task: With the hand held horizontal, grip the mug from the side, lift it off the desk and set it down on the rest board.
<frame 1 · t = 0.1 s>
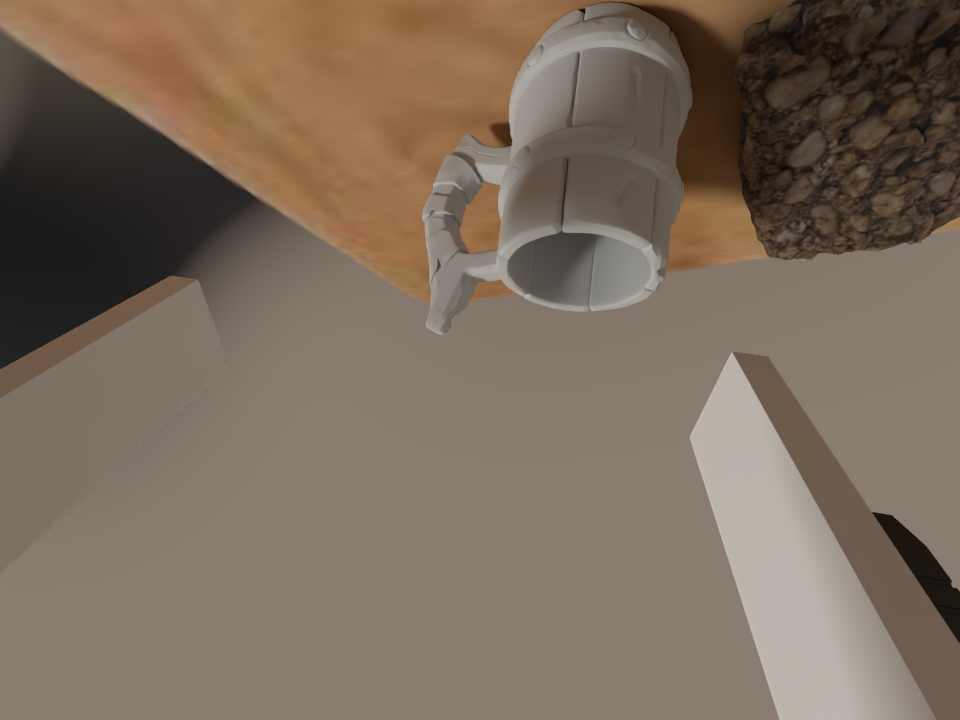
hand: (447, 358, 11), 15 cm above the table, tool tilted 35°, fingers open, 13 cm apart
concrete sample: (863, 86, 18), on the table
mug: (555, 96, 20), on the table
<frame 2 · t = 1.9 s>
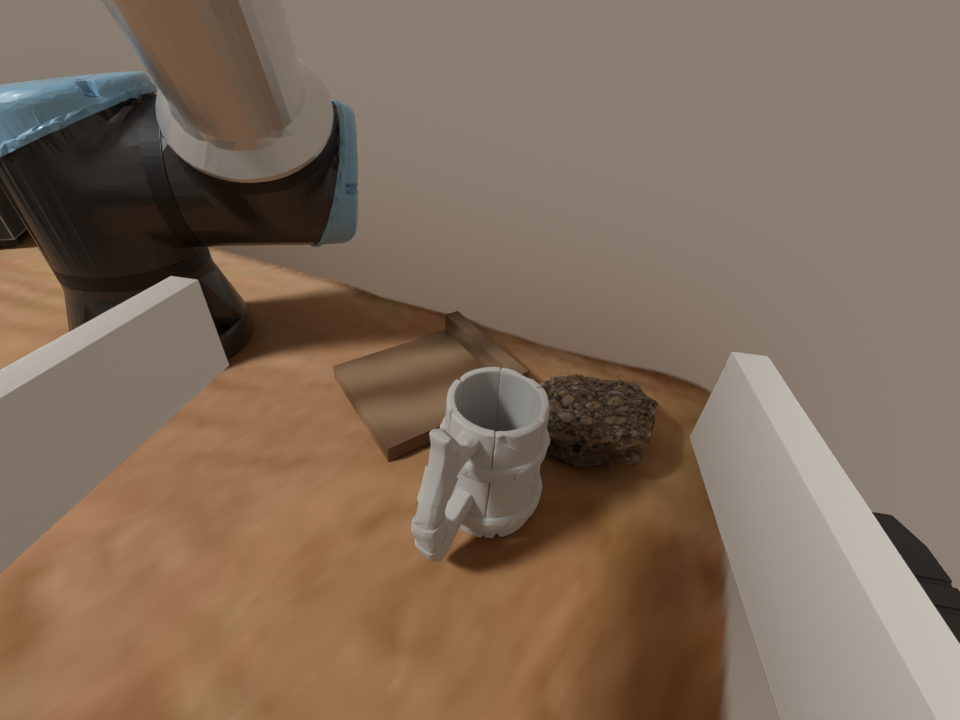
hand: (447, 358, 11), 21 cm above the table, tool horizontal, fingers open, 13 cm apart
concrete sample: (577, 435, 38), on the table
mug: (472, 516, 31), on the table
rest board: (428, 388, 41), on the table
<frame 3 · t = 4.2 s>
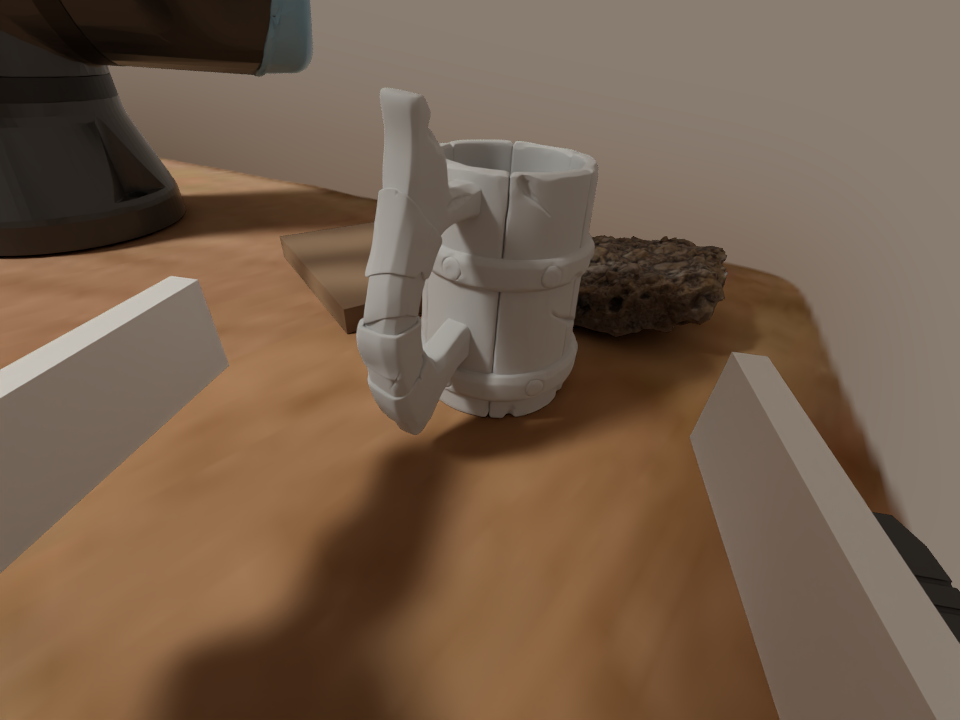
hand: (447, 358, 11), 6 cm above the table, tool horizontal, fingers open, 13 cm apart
concrete sample: (608, 314, 27), on the table
mug: (470, 394, 20), on the table
rest board: (410, 267, 30), on the table
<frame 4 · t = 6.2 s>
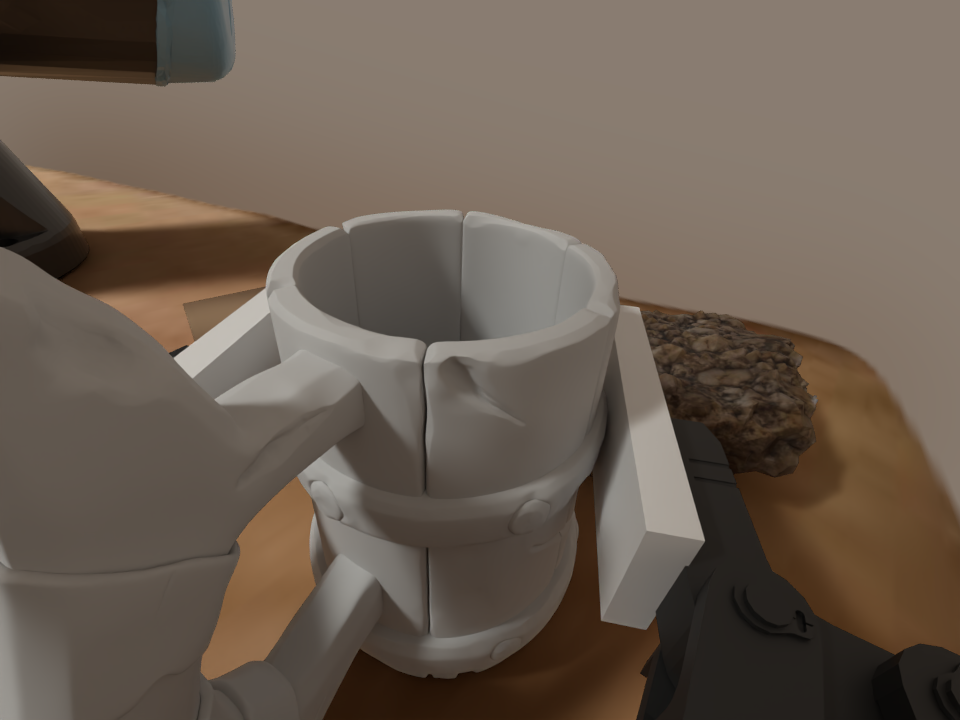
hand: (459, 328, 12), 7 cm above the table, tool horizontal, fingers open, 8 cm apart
concrete sample: (624, 420, 20), on the table
mug: (407, 610, 12), on the table, touching gripper
rest board: (359, 344, 23), on the table
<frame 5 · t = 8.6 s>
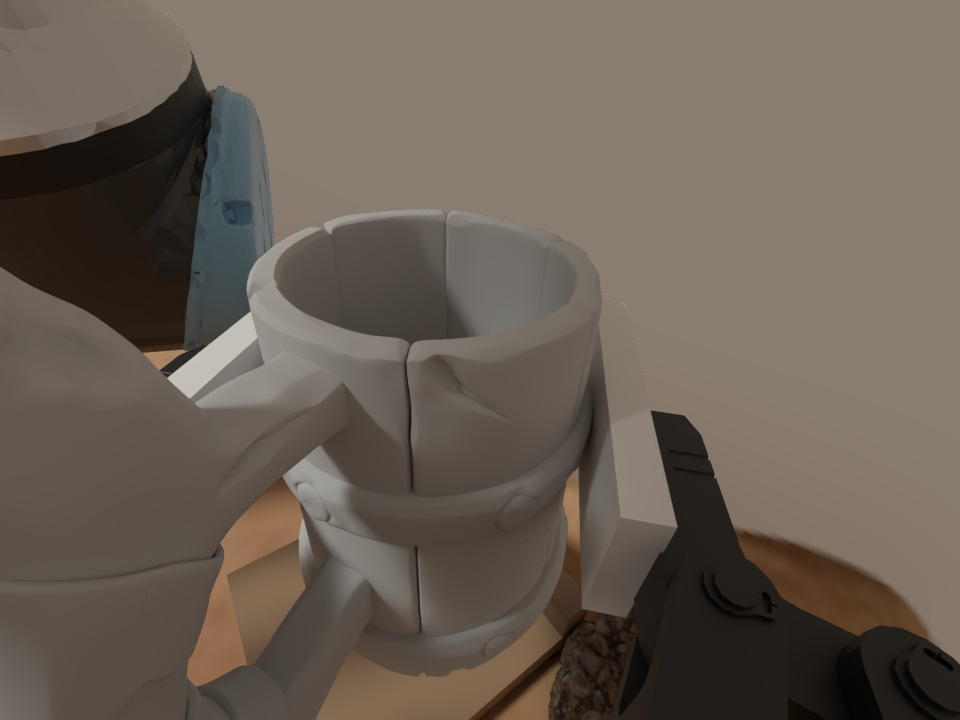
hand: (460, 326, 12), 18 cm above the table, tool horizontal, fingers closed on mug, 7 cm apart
mug: (399, 610, 12), point 11 cm above the table, touching gripper
rest board: (403, 610, 22), on the table
when the fingers open (9 cm above the table, at t = 10.9 s): mug drops 1 cm, resting on rest board.
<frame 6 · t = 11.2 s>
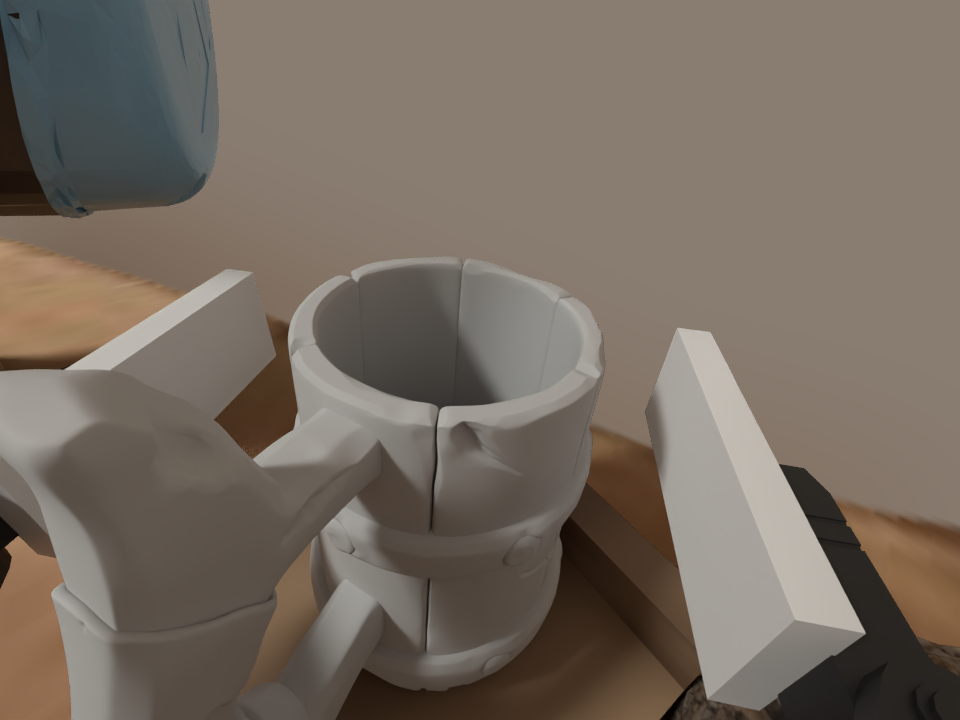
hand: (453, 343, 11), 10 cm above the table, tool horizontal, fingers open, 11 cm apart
mug: (401, 626, 13), point 1 cm above the table, touching rest board
rest board: (413, 638, 14), on the table
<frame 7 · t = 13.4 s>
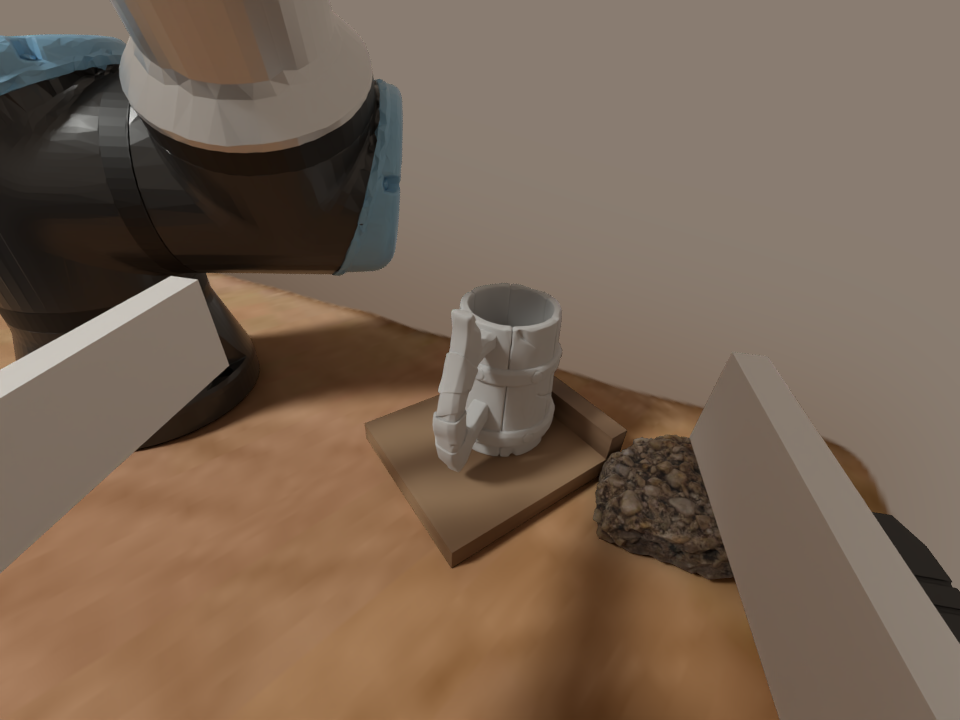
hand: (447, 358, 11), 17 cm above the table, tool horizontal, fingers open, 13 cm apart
concrete sample: (682, 520, 28), on the table
mug: (486, 440, 30), point 1 cm above the table, touching rest board
rest board: (489, 451, 31), on the table
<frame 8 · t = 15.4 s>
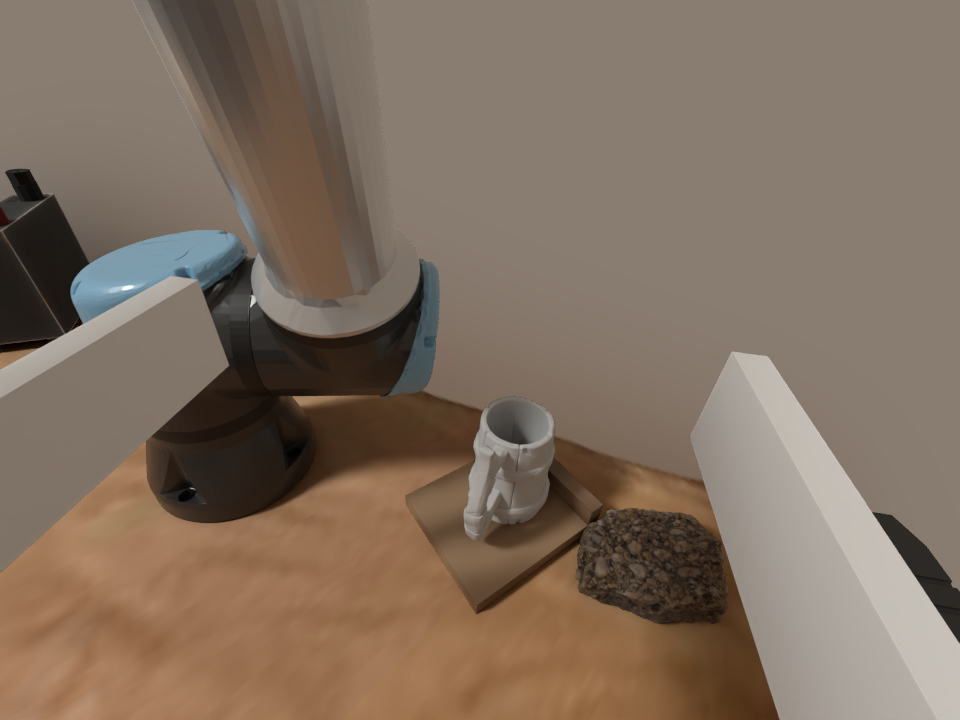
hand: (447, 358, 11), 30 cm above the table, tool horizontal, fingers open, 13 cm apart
concrete sample: (640, 573, 38), on the table
mug: (497, 509, 40), point 1 cm above the table, touching rest board
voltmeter: (22, 325, 63), on the table
rest board: (499, 515, 41), on the table
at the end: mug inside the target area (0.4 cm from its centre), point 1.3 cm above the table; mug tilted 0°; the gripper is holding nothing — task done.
